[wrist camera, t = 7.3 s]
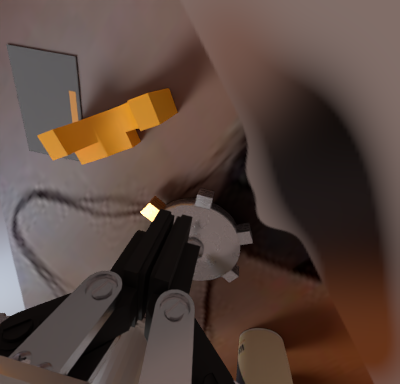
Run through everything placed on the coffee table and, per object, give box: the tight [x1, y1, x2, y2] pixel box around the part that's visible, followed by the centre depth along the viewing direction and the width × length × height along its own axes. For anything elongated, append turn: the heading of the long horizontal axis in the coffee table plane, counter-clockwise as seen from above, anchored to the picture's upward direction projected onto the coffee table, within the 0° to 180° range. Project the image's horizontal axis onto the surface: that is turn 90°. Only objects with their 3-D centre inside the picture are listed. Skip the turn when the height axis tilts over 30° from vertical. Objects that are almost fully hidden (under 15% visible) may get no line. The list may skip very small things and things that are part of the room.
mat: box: [6, 44, 82, 161], centre depth 27 cm, size 12×8×1 cm, turn 171°
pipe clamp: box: [37, 88, 178, 164], centre depth 23 cm, size 12×4×6 cm, turn 108°
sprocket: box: [140, 188, 253, 282], centre depth 27 cm, size 15×14×7 cm
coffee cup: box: [236, 328, 293, 384], centre depth 35 cm, size 9×9×12 cm
